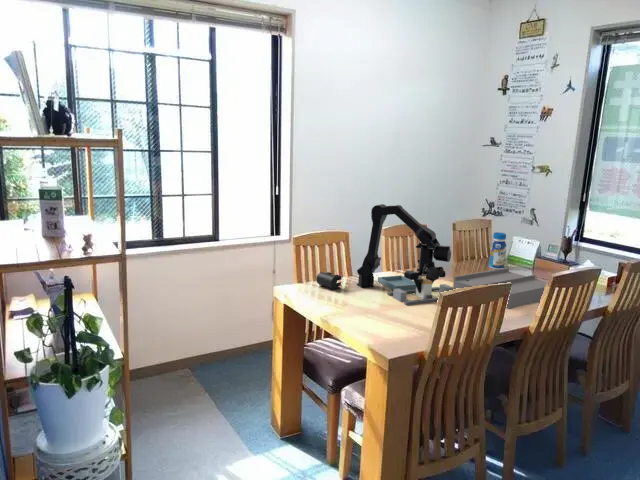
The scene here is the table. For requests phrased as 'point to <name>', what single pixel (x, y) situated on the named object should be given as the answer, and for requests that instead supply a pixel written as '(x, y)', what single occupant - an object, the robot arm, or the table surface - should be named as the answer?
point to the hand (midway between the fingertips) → (423, 292)
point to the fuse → (425, 288)
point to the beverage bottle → (498, 251)
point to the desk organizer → (522, 286)
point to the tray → (397, 282)
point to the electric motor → (328, 280)
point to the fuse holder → (402, 294)
